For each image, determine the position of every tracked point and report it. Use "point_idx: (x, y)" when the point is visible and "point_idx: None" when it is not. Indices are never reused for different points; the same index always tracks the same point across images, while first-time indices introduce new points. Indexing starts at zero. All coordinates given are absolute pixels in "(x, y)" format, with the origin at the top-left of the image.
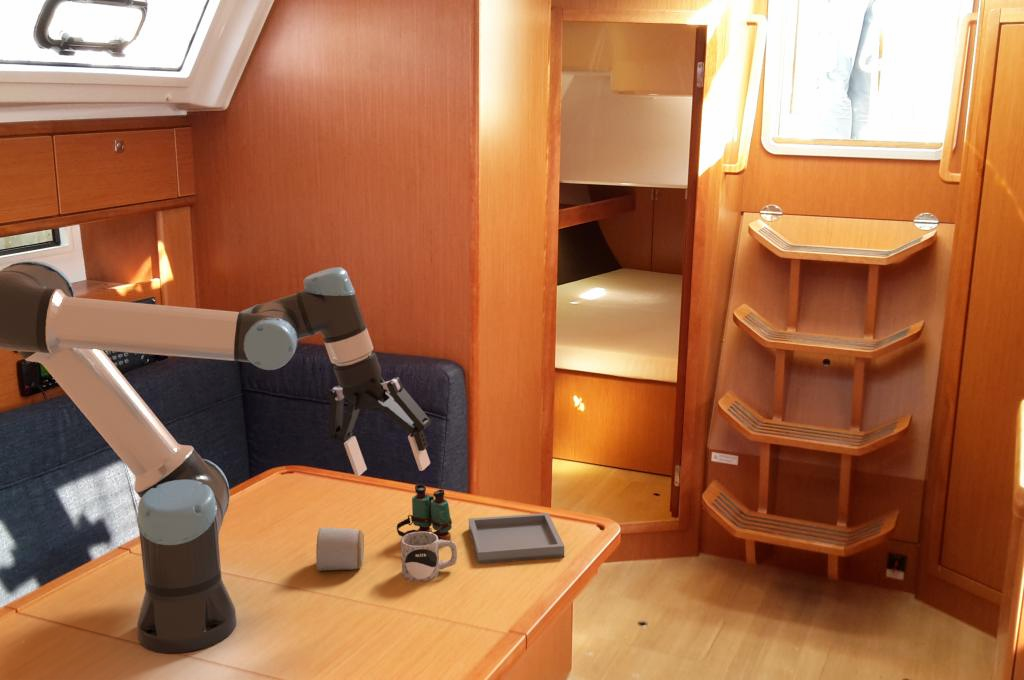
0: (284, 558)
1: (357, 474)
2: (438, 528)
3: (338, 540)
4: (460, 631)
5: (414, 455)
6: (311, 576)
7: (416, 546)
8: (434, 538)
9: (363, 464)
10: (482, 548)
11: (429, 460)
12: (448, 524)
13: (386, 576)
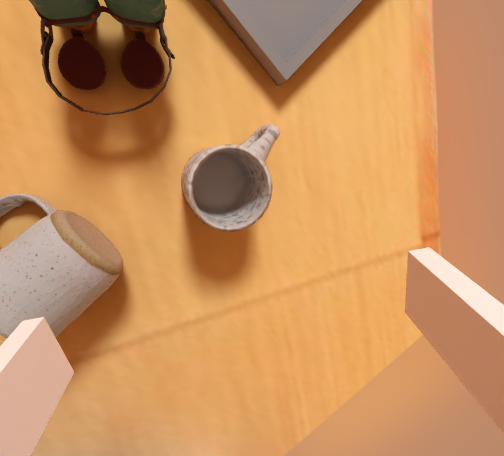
0: None
1: (66, 381)
2: (142, 26)
3: (72, 308)
4: (375, 280)
5: (456, 373)
6: None
7: (252, 222)
8: (245, 154)
9: (31, 353)
10: (282, 57)
11: (438, 255)
12: (165, 9)
13: (173, 230)
